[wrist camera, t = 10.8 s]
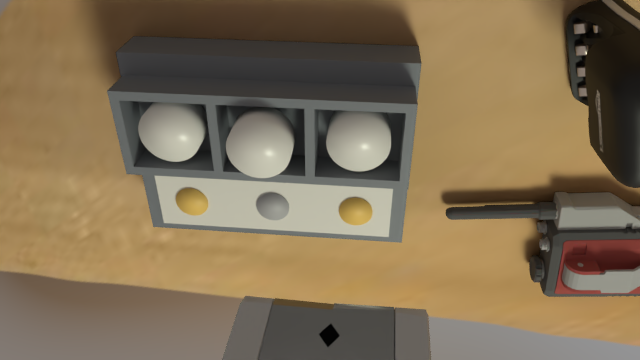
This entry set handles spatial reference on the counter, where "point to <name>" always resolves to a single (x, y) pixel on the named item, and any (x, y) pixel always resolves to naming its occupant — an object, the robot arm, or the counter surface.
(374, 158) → the button
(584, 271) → the walkie-talkie
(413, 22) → the counter surface
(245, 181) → the pattern board
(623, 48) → the battery charger
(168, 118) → the button
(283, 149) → the middle button
